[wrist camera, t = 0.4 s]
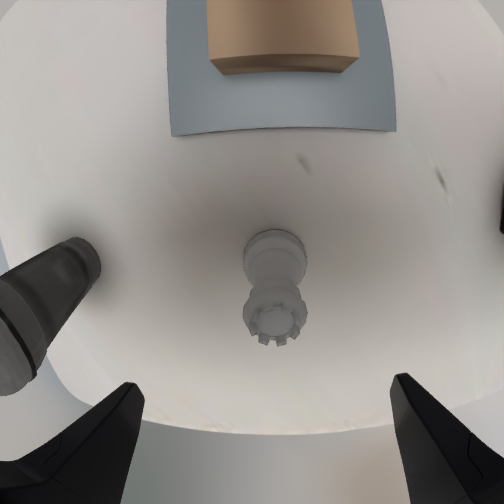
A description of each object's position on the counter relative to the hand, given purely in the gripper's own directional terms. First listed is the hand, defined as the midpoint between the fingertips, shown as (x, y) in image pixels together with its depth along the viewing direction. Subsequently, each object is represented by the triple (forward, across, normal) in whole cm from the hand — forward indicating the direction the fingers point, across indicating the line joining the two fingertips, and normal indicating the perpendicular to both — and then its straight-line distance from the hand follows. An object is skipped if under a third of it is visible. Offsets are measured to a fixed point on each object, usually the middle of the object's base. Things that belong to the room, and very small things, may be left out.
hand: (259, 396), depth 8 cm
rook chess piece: (+13, 0, +1) cm, 13 cm away
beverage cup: (+13, +17, 0) cm, 21 cm away
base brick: (+11, -2, -15) cm, 19 cm away
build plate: (+13, -2, -15) cm, 20 cm away
